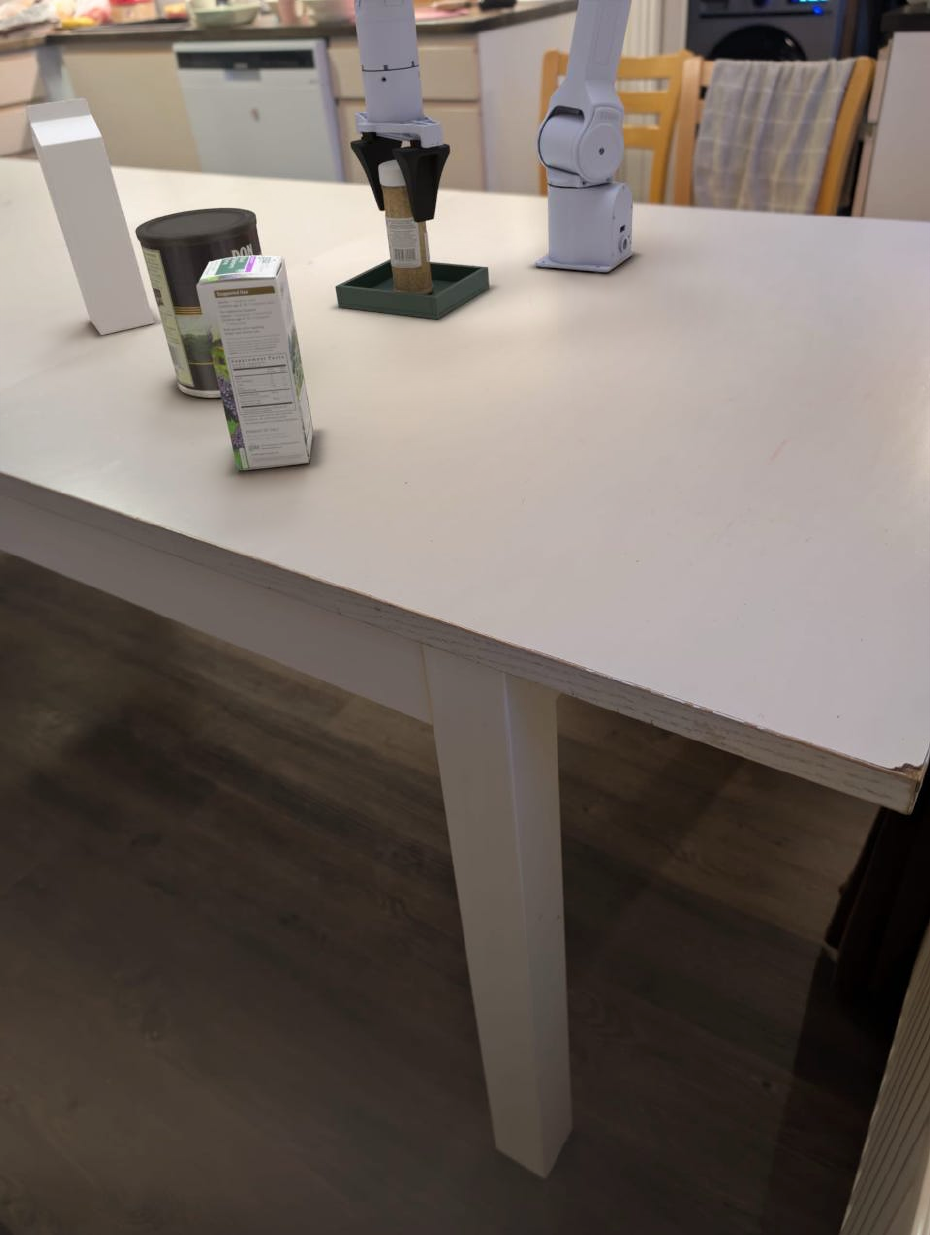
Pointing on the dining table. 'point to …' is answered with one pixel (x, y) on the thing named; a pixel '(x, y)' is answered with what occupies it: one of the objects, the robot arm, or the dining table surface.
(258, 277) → the syrup box
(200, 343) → the coffee can
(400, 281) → the sprinkles bottle
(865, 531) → the dining table surface
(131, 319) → the milk
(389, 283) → the serving tray
